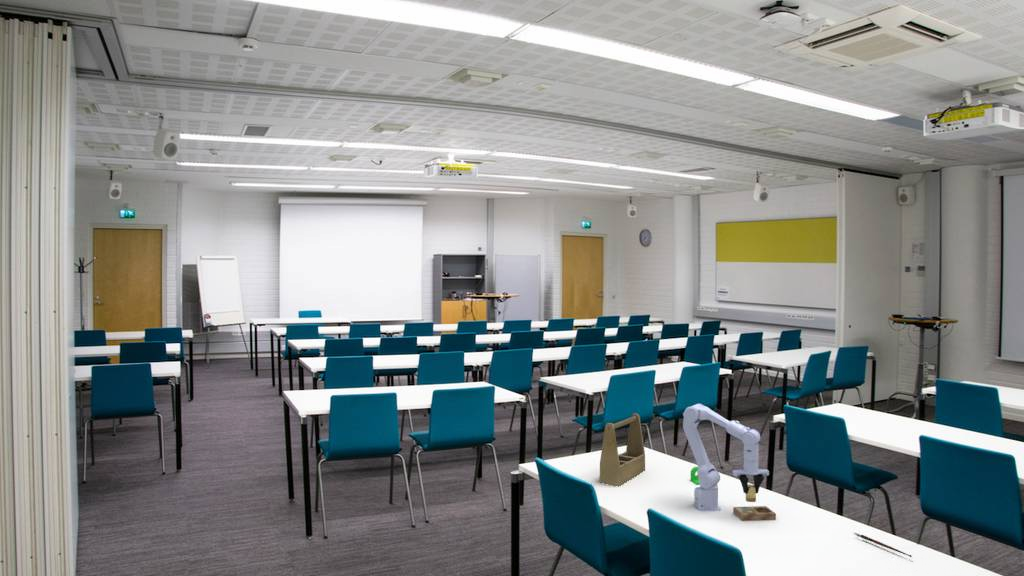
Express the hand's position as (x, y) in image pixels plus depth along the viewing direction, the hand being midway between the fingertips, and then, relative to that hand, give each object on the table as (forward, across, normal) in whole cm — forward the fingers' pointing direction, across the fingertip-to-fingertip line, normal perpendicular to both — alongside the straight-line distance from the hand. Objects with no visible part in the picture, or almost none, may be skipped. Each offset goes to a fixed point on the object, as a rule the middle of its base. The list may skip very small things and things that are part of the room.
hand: (750, 492), depth 273 cm
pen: (+9, +36, -23) cm, 44 cm away
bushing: (+3, 0, 0) cm, 3 cm away
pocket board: (+10, +2, 0) cm, 10 cm away
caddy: (+11, -39, +55) cm, 69 cm away
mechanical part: (+10, -2, +44) cm, 45 cm away
